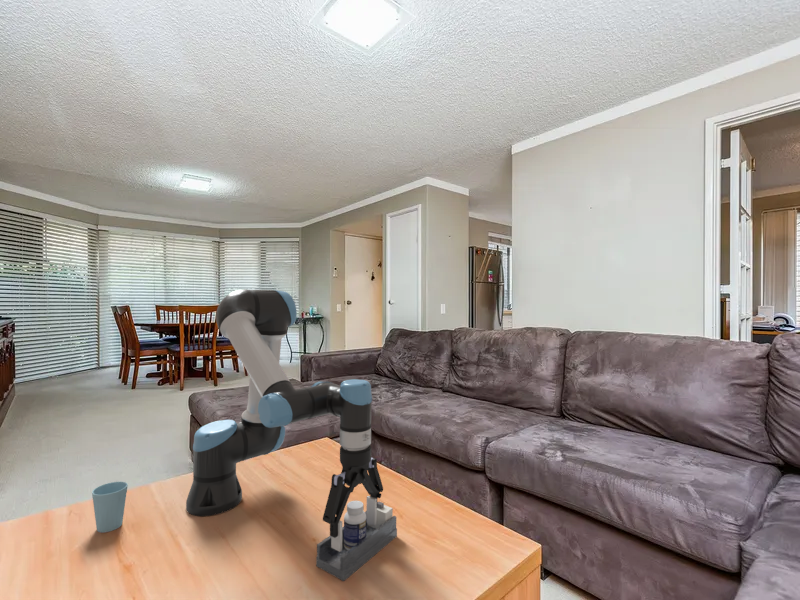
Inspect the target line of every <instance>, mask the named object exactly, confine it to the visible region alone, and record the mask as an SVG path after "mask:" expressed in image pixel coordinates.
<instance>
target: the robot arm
mask: <svg viewBox="0 0 800 600" xmlns="http://www.w3.org/2000/svg"><path fill="white" fill-rule="evenodd" d="M296 320H297V305H296V303H295V300H294V298H293V297H292V295H290V293H288V292H287V291H284V290H277V289H245V288H244V289H242V288H241V289H237V290H234V291H232V292H230V293H228V294H227V295H225V297H224V298H223V299H222V300H221V301H220V303H218V306H217V308H216V314H215V321H216V322H215V323H216V324H217V328H218V330H219V333H220V334H221V335H222V336H223V337H224V338H226V339H229V341H230V344H231V345H232V347H233V349H234V350H235V353H236V355H237V356H238V358H239V360H240V361H241V363H242V364H243V366H244V368H245V370H246V372H247V374H248V376H249V380H248V381H249V382H248V383H249V384H248V394H247V405H246V409H245V410H244V411H243V412H242V413H241V417H240V422H236V421H235V420H233V419H223V420H221V419H220V420H216V421H212V422H209V423H207V424H205V425H202V426H200V427H199V428H198V430H196V431H195V433H194V436H193V444H192V450H193V451H192V453H193V454H192V455H193V461H192V463H193V464H192V468H193V470H192V475H193V478H192V483H191V486H190V490H189V493H188V496H187V498H186V502H185V503H186V504H185V505H186V506H185V507H186V508H185V510H186V512H187V513H188V514H190V515H192V516H197V517H211V516H215V515H216V516H217V515H219V514H220V515H221V514H223V513H226V512H229V511H231V510H232V509H234V508H236V507H237V506H238V505H239V504H240V503H241V502H242V499H243V490H242V489H243V488H242V487H241V484H240V481H239V478H238V476H237V463H240V462H245V461H246V460H250V459H254V458H257V457H260V456H266V455H269V454H270V453H272V452H275V451H277V450H279V449H280V447H282V445H283V443H284V441H285V438H286V436H285V435H286V427H285V426H288V425H291V424H295V423H299V422H301V421H306V420H310V419H314V418H318V417H322V416H327V415H332V416H335V417H338V418H339V420H340V421H339V422H340V423H339V445H340V447H339V462H340V465H341V472H340V473H339V474H335V473H333V474H332V475H331V485H330V489H329V493H328V497H327V501H326V504H325V508H324V512H323V515H322V522H325V523H326V524H329V536H331V548H333V549H335V550H337V551H339V552H340V551H342V527H343V520H341V518H342V516H343V513H344V511H345V509H346V507H347V504H348V502H349V498H350V496H351V493H352V494H353V491H354V490H355V488H356V487H357V486H359V485H361V484H362V485H363V487H364V489H365V490H366V492H367V493H368V495H367V496H366V510H365V512H366V522H367V523H369V524H371V525H374V526H375V525H377V502H378V499H381V497H382V492H383V491H384V486H383V483H382V480H381V475H380V473H379V469H378V459H377V458H374V457H372V446H371V444H372V405H373V404H372V402H373V395H372V385H371V383H370V382H369V381H368V380H365V379H357V378H356V379H345V380H343V381H342V382H341V383H340V384H336V383H333V382H330V381H322V380H320V381H316V382H314V383H313V384H312V385H310V386H309V387H303V388H302V387H301V388H295V387H294V385H293V384H292V382H291V381H290V379H289V377H288V376H287V374H286V372H285V371H284V370H283V367H282V366H281V365H280V359H281V358H280V357H281V348H282V347H281V346H282V339H283V338H284V337H285V336H287V334H288V328H289V327H291V326H293V325H294V324H295V322H296Z"/></svg>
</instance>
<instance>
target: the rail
mask: <svg viewBox="0 0 800 600" xmlns="http://www.w3.org/2000/svg"><path fill="white" fill-rule="evenodd" d="M364 512H365V513H366V511H364ZM397 537H398V528H397V516H396V515H393V517H392V518H390V519H389V520H388V521H386V522H385V523H384V524H382V525H381V526H380V527H378V528H377V529H375V528H373V527H370V526H368V525H367V522H366V537H365V538H364V539H363V540H361V541H360V542H359V543H357V544H356V545H355V546H353V547H352V548H351V549H350V550H347V549H345V547H344V526H342V551H340V552H339V551H337V550H335V549H333V548H331V536H330V535H329V536H327V537H325V538H324V539H323V540H322V541H320V542H318V543H316V556H315V557H316V558H315V559H316V560H315V561H316V562H315V563H316V565H315V566H316V567H317V568H318V569H320V570H323V571H324V572H326V573H328V574H329V575H332V576H334V577H335V578H337V579H339V580H341V581H342V582H345V581H346V580H348V578H350V576H352V575H353V574H355V572H356V571H358V570H359V569H360V568H361V567H363V565H365V564H366V563H367V562H368V561H370V560H371V559H372V558H373V557H375V556H376V554H378V553H379V552H380V551H382V550H383V549H384V548H385V547H386V546H388V544H390V543H391V542H392V541H393V540H394V539H396V538H397Z"/></svg>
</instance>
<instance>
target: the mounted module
mask: <svg viewBox="0 0 800 600" xmlns="http://www.w3.org/2000/svg"><path fill="white" fill-rule="evenodd" d="M393 509H394V508H393V507H390V506H388V505H385V503H384V502H382V501H377V525H375V526H374V525H371V524H369V523H367V525H368V526H370V527H373V528H375V529H377V528H378V527H380V526H381V525H382V524H384V523H385V522H386V521H388V520H389V519H390V518H392V517H393V516H394V514H393V512H394V511H393Z"/></svg>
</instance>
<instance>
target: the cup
mask: <svg viewBox="0 0 800 600" xmlns="http://www.w3.org/2000/svg"><path fill="white" fill-rule="evenodd" d="M128 484H129V483H127V482H126V481H114V482H113V481H112V482H111V481H110V482H109V483H108V482H107V483H104V484H101V485H99V486H97V487H95V488H94V489H93V490H92V491H91V494H92V503H93V512H94V519H95V526H96V527H95V528H96V531H97V532H98V533H110V532H113V531H115V530H117V529H119V528H120V527H121V526H122V525H123V522H124V521H123V520H124V514H125V513H124V512H125V505H126V499H127V493H128V487H129V485H128Z"/></svg>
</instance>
